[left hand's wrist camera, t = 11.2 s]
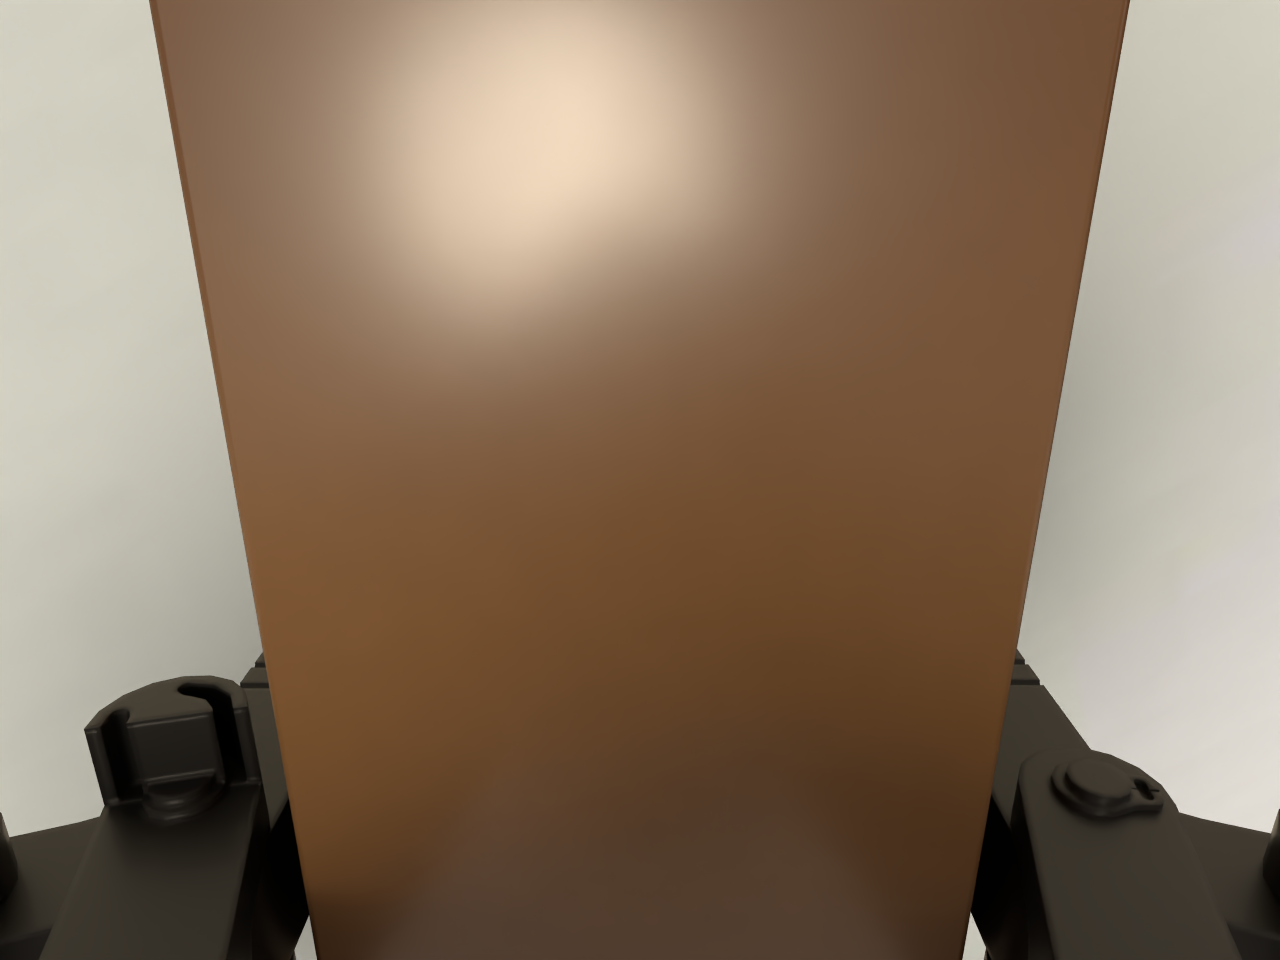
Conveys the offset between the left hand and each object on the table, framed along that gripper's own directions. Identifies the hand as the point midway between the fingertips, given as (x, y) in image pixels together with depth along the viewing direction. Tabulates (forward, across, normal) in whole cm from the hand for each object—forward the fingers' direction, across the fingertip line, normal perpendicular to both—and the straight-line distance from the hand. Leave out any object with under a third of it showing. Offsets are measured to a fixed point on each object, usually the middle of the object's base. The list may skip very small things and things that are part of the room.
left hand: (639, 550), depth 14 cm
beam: (+1, 0, -26) cm, 26 cm away
